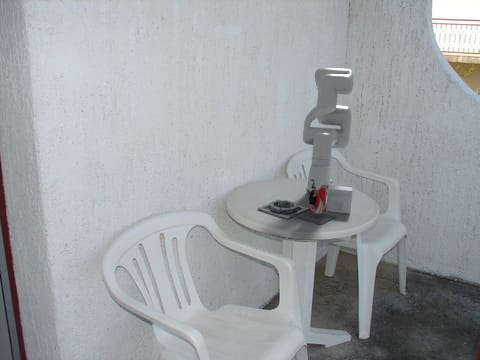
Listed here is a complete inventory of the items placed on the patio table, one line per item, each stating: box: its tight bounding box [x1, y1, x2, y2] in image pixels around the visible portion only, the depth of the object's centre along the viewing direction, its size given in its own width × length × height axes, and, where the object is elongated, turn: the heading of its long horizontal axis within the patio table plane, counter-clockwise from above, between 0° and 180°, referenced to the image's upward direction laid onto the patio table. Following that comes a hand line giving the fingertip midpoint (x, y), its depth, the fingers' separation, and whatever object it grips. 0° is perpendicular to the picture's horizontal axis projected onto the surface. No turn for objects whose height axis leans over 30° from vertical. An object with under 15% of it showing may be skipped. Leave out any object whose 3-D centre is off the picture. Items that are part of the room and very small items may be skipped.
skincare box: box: [325, 184, 353, 214], centre depth 203 cm, size 10×6×10 cm, turn 78°
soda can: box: [308, 185, 328, 214], centre depth 192 cm, size 7×7×12 cm
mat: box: [295, 210, 337, 226], centre depth 195 cm, size 12×12×1 cm
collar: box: [257, 199, 309, 220], centre depth 202 cm, size 16×16×2 cm
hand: (317, 202), depth 193 cm, fingers closed on soda can, 6 cm apart
